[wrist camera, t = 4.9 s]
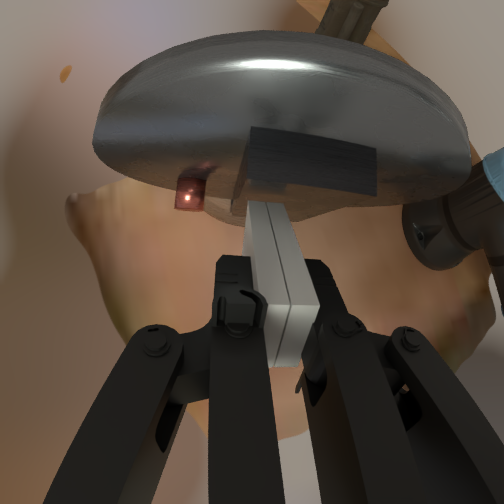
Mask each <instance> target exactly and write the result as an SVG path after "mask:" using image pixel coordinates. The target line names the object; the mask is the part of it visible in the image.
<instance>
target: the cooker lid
mask: <svg viewBox="0 0 504 504" xmlns="http://www.w3.org/2000/svg"><path fill="white" fill-rule="evenodd" d="M92 145H93V148H94V152H95V153H96V155H97V156H98V158H99V159H100V160H101V161H102V162H103V163H105V164H106V165H107V166H109V167H110V168H112V169H113V170H115V171H117V172H119V173H121V174H123V175H125V176H128V177H130V178H133V179H135V180H138V181H141V182H144V183H147V184H151V185H155V186H158V187H162V188H167V189H171V190H175V191H176V197H175V206H174V209H177V210H182V211H193V212H200V211H204V200H205V196H209V197H215V198H223V199H230V200H233V208H232V216H238V217H246V214H247V205H248V200H250V201H262V202H265V203H266V202H273V203H283V204H284V207H285V209H286V212H287V215H288V217H289V220H290V221H292V222H299V221H302V220H305V219H308V218H311V217H315V216H318V215H321V214H324V213H327V212H330V211H333V210H336V209H340V208H343V207H374V206H390V205H401V204H408V203H415V202H421V201H426V200H430V199H434V198H437V197H440V196H443V195H446V194H448V193H450V192H452V191H454V190H456V189H458V188H459V187H460V186H462V185H463V184H464V183H465V182H466V180H467V179H468V178H469V175H470V173H471V170H472V167H471V153H470V145H469V139H468V132H467V127H466V124H465V122H464V120H463V117H462V115H461V113H460V111H459V110H458V108H457V107H456V106H455V104H454V103H453V102H452V100H451V99H450V97H449V96H448V95H447V94H446V93H445V92H443V91H442V90H441V89H440V88H439V87H438V86H437V85H436V84H435V83H434V82H432V81H431V80H430V79H429V78H428V77H426V76H424V75H423V74H421V73H420V72H418V71H417V70H415V69H413V68H412V67H410V66H409V65H407V64H405V63H404V62H402V61H400V60H398V59H396V58H394V57H392V56H389V55H387V54H385V53H382V52H380V51H377V50H375V49H372V48H370V47H367V46H364V45H362V44H358V43H355V42H351V41H347V40H343V39H338V38H334V37H329V36H325V35H319V34H314V33H305V32H304V33H303V32H292V31H269V30H259V31H248V32H237V33H229V34H221V35H214V36H210V37H206V38H202V39H198V40H194V41H191V42H188V43H184V44H181V45H177V46H174V47H172V48H169V49H167V50H165V51H163V52H161V53H158V54H156V55H154V56H152V57H150V58H148V59H146V60H144V61H142V62H141V63H139V64H138V65H136V66H135V67H133V68H132V69H131V70H129V71H128V72H127V73H125V74H124V75H122V76H121V77H120V78H119V79H118V80H117V82H116V83H115V84H114V85H113V86H112V87H111V88H110V89H109V90H108V92H107V94H106V95H105V98H104V99H103V101H102V103H101V106H100V110H99V113H98V117H97V122H96V125H95V130H94V134H93V141H92Z"/></svg>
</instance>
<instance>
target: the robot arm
mask: <svg viewBox="0 0 504 504" xmlns="http://www.w3.org/2000/svg"><path fill="white" fill-rule="evenodd" d="M402 223H403V229H404V234H405V237H406V240H407V242H408V245H409V247H410V249H411V250H412V252H413V254H414V255H415V256H416V258H417V259H418V260H419V261H420V262H421V263H422V264H423V265H425V266H426V267H428V268H430V269H432V270H437V271H441V270H446V269H450V268H453V267H455V266H457V265H458V264H459V263H461V262H462V260H463V259H464V258H466V257H467V256H468V255H470V254H471V253H472V252H474V251H475V250H479V249H483V248H484V251H485V253H486V256H487V259H488V262H489V265H490V268H491V271H492V274H493V277H494V280H495V284H496V287H497V290H498V294H499V297H500V301H501V310H502V314H503V316H504V147H503V148H501V149H500V150H498V151H496V152H494V153H491V154H488V155H486V156H485V157H484V159H483V160H482V161H480V162H479V163H477V164H475V165H474V166H472V170H471V173H470V175H469V178H468V179H467V180H466V182H465V183H464V184H463V185H462V186H460V187H459V188H458V189H456V190H454V191H452V192H450V193H448V194H446V195H443V196H440V197H437V198H434V199H430V200H426V201H421V202H415V203H408V204H404V206H403V212H402ZM301 357H302V361H303V366H304V369H303V372H302V374H301V376H300V379H299V381H298V383H297V385H296V388H295V393H299V391H300V389H301V387H302V391H303V396H304V402H305V407H306V413H307V419H308V424H309V430H310V436H311V441H312V447H313V453H314V459H315V465H316V470H317V477H318V483H319V490H320V496H321V503H322V504H504V445H503V443H502V442H501V440H500V439H499V437H498V435H497V434H496V432H495V431H494V429H493V428H492V426H491V425H490V423H489V422H488V420H487V419H486V417H485V416H484V414H483V413H482V411H481V410H480V409H479V407H478V406H477V404H476V403H475V401H474V400H473V399H472V397H471V396H470V395H469V393H468V392H467V391H466V389H465V388H464V386H463V385H462V384H461V382H460V381H459V380H458V378H457V377H456V376H455V374H454V373H453V372H452V370H451V369H450V368H449V366H448V365H447V364H446V363H445V361H444V360H443V359H442V357H441V356H440V355H439V354H438V352H437V351H436V350H435V349H434V347H433V346H432V345H431V344H430V342H429V341H428V340H427V339H426V337H425V336H424V335H423V334H421V333H420V332H419V331H417V330H416V329H414V328H411V327H407V326H403V327H398V328H397V329H395V330H394V331H393V333H392V335H391V336H386V335H381V334H377V333H372V332H369V331H367V329H366V327H365V326H364V324H363V323H362V321H361V320H359V319H358V318H357V317H356V316H354V315H351V314H349V313H348V311H347V308H346V306H345V304H344V301H343V299H342V297H341V294H340V292H339V290H338V287H336V283H335V281H334V279H333V276H332V274H331V272H330V269H329V268H328V267H327V266H326V265H325V264H324V263H323V262H322V261H321V260H317V259H304V258H303V255H302V252H301V250H300V247H299V244H298V241H297V239H296V236H295V233H294V231H293V228H292V225H291V223H290V220H289V217H288V215H287V212H286V209H285V207H284V204H283V203H273V202H266V203H265V202H262V201H250V200H248V205H247V214H246V223H245V232H244V241H243V250H242V256H235V255H222V256H221V257H220V259H219V260H218V261H217V262H216V272H215V286H214V299H213V302H212V318H211V319H210V321H209V323H207V324H206V325H205V326H204V327H202V328H201V329H199V330H196V331H193V332H189V333H183V334H179V333H178V332H177V331H176V330H175V329H173V328H171V327H168V326H166V325H158V324H155V325H149V326H145V327H143V328H142V329H140V330H138V331H137V332H136V333H135V334H134V335H133V336H132V338H131V339H130V341H129V343H128V344H127V346H126V348H125V349H124V351H123V352H122V354H121V356H120V358H119V359H118V361H117V363H116V364H115V366H114V368H113V369H112V371H111V373H110V375H109V376H108V378H107V380H106V382H105V383H104V385H103V387H102V388H101V390H100V392H99V394H98V395H97V397H96V399H95V401H94V403H93V404H92V406H91V408H90V410H89V412H88V413H87V415H86V417H85V419H84V421H83V423H82V425H81V426H80V429H79V430H78V432H77V434H76V436H75V438H74V440H73V442H72V444H71V445H70V447H69V449H68V451H67V453H66V455H65V457H64V459H63V461H62V464H61V466H60V467H59V469H58V472H57V474H56V476H55V478H54V480H53V482H52V484H51V486H50V489H49V491H48V493H47V495H46V498H45V499H44V502H43V504H151V502H152V500H153V497H154V494H155V491H156V489H157V486H158V483H159V480H160V477H161V475H162V472H163V469H164V467H165V464H166V461H167V458H168V455H169V453H170V450H171V447H172V445H173V442H174V439H175V436H176V434H177V431H178V428H179V426H180V423H181V420H182V418H183V415H184V412H185V409H186V407H187V404H188V403H191V402H196V401H200V400H204V399H208V398H209V424H208V490H209V491H208V494H209V504H285V496H284V488H283V480H282V472H281V464H280V456H279V448H278V440H277V432H276V424H275V416H274V408H273V400H272V392H271V384H270V376H269V368H268V367H273V365H274V367H298V364H299V362H300V359H301ZM404 384H406V385H407V387H408V388H409V391H405V390H404V389H403V388H402V387H403V386H404Z"/></svg>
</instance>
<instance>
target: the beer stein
mask: <svg viewBox="0 0 504 504" xmlns="http://www.w3.org/2000/svg"><path fill="white" fill-rule="evenodd" d="M388 2H389V0H331V1H330V3H329V6H328V8H327V10H326V12H325V14H324V17H323V19H322V21H321V23H320V25H319V28H318V29H317V30H316V31H315V34H319V35H325V36H329V37H334V38H338V39H343V40H347V41H351V42H355V43H358V44H362V45H363V44H364V41H365V40H366V38H367V36H368V34H369V32H370V30H371V26H372V23H373V22H374V21H375V19H376V17H377V15H378V14H379V12H380V10H381V9H382V8H383V7H386V6H387V5H388Z"/></svg>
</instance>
